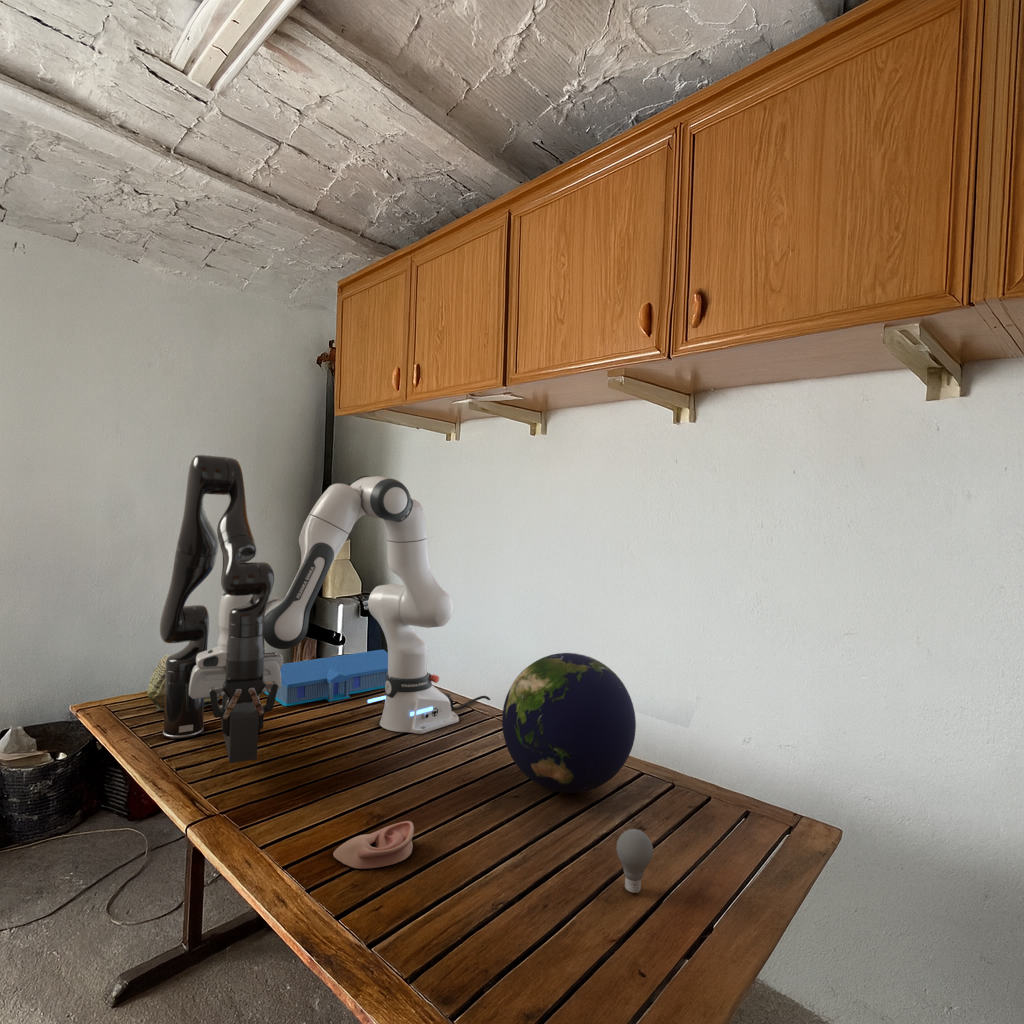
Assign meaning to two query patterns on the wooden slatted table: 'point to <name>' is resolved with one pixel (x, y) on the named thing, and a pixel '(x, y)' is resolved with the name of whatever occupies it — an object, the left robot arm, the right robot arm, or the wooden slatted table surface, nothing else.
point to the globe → (569, 723)
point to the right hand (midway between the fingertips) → (235, 712)
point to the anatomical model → (378, 847)
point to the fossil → (162, 686)
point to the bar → (242, 732)
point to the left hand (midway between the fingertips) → (242, 732)
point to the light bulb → (634, 857)
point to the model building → (332, 677)
